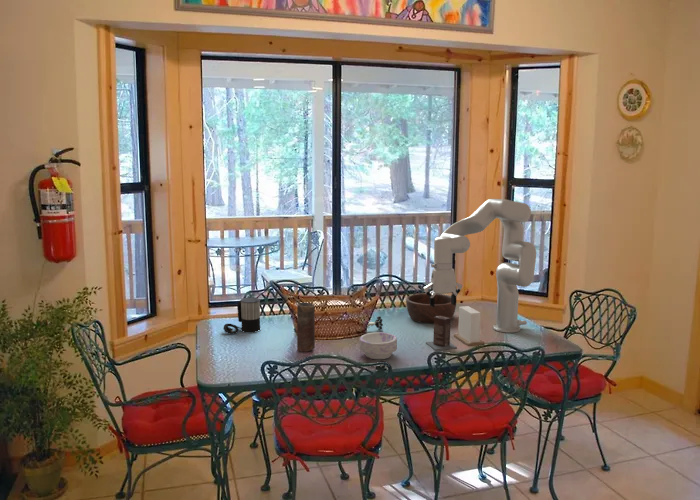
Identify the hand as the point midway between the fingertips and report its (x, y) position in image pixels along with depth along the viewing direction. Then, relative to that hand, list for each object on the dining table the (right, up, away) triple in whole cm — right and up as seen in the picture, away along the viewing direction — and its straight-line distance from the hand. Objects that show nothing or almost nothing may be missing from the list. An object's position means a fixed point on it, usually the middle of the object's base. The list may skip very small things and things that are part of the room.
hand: (442, 305), depth 255 cm
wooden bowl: (+1, -11, +46) cm, 47 cm away
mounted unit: (+13, -16, +10) cm, 23 cm away
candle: (-58, -19, -3) cm, 61 cm away
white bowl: (-28, -20, -10) cm, 36 cm away
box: (0, -17, +3) cm, 17 cm away
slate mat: (0, -18, +3) cm, 18 cm away
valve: (-31, -14, +25) cm, 42 cm away
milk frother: (-90, -15, +24) cm, 94 cm away
